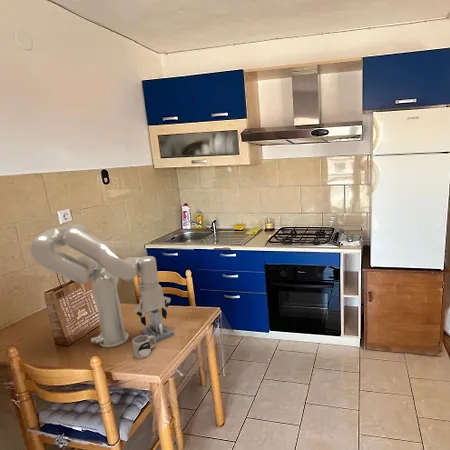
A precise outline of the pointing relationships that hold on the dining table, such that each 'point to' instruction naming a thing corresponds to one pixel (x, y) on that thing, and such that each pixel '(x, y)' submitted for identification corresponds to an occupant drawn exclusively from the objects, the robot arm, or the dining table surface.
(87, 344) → the dining table surface
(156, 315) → the block
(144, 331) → the grey peg stand
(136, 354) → the mug
